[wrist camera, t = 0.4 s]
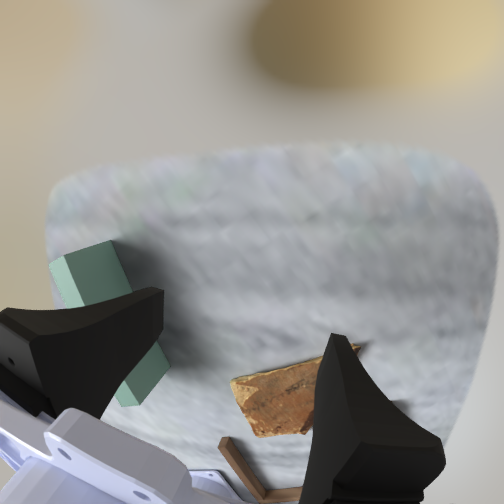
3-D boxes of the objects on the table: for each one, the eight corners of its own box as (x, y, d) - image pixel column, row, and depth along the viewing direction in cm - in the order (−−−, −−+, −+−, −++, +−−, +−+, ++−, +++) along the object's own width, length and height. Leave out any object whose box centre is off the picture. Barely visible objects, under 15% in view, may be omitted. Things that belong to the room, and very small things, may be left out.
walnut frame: (261, 494, 28) (259, 503, 26) (221, 437, 26) (217, 447, 25) (403, 467, 24) (405, 477, 22) (391, 400, 22) (394, 411, 21)
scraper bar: (171, 365, 26) (139, 405, 20) (154, 369, 26) (121, 406, 20) (111, 239, 24) (63, 255, 18) (96, 248, 25) (48, 264, 19)
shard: (358, 337, 22) (361, 348, 20) (377, 406, 23) (380, 419, 21) (230, 371, 25) (225, 383, 23) (263, 432, 26) (260, 445, 24)
